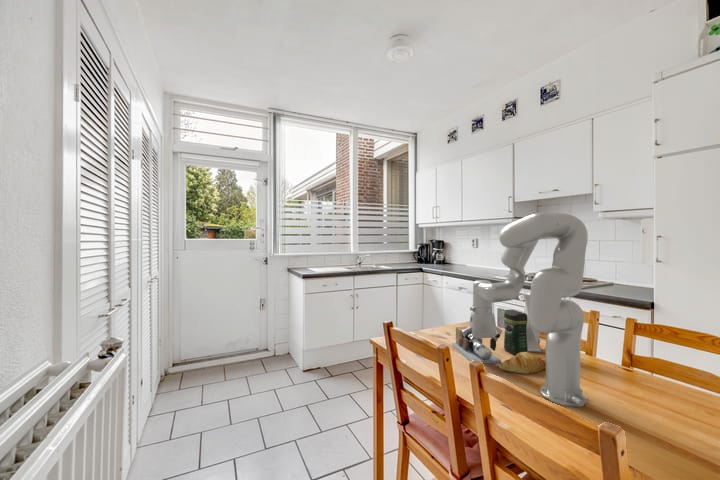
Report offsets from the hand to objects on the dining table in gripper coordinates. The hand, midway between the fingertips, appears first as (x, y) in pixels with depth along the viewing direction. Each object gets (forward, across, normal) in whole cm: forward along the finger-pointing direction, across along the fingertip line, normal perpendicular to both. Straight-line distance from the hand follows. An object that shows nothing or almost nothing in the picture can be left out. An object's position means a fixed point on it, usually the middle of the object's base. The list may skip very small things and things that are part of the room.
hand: (481, 349), depth 135 cm
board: (+4, 0, +7) cm, 8 cm away
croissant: (+4, +12, -11) cm, 17 cm away
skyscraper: (+4, +28, +8) cm, 29 cm away
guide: (+3, 0, +9) cm, 10 cm away
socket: (+3, 0, +16) cm, 16 cm away
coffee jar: (+4, +19, +6) cm, 21 cm away
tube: (+3, 0, +4) cm, 5 cm away
